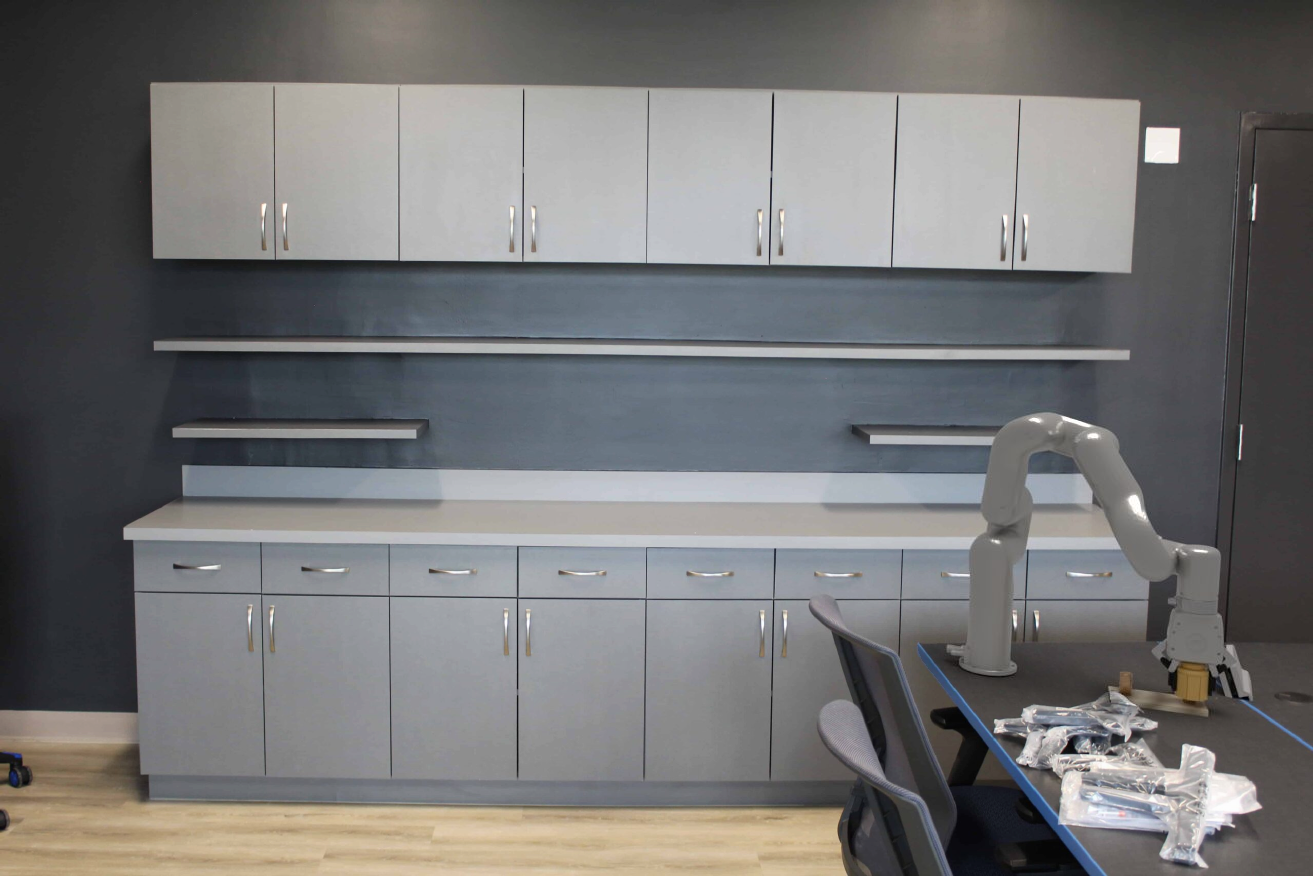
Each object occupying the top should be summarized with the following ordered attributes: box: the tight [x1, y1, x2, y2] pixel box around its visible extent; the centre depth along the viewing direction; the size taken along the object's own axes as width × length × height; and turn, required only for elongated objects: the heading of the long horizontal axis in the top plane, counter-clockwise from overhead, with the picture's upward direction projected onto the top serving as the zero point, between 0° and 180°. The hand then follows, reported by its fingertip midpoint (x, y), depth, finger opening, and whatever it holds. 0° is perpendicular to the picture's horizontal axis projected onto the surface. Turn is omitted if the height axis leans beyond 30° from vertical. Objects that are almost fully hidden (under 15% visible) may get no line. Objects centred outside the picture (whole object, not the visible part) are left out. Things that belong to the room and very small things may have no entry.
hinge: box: [1216, 644, 1254, 702], centre depth 218 cm, size 17×5×10 cm, turn 151°
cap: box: [1174, 661, 1209, 702], centre depth 204 cm, size 6×6×7 cm
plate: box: [1107, 685, 1209, 717], centre depth 207 cm, size 18×8×1 cm, turn 69°
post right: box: [1183, 699, 1196, 705], centre depth 205 cm, size 2×2×4 cm
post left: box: [1118, 670, 1134, 696], centre depth 209 cm, size 2×2×4 cm
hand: (1191, 690), depth 205 cm, fingers closed on cap, 5 cm apart
